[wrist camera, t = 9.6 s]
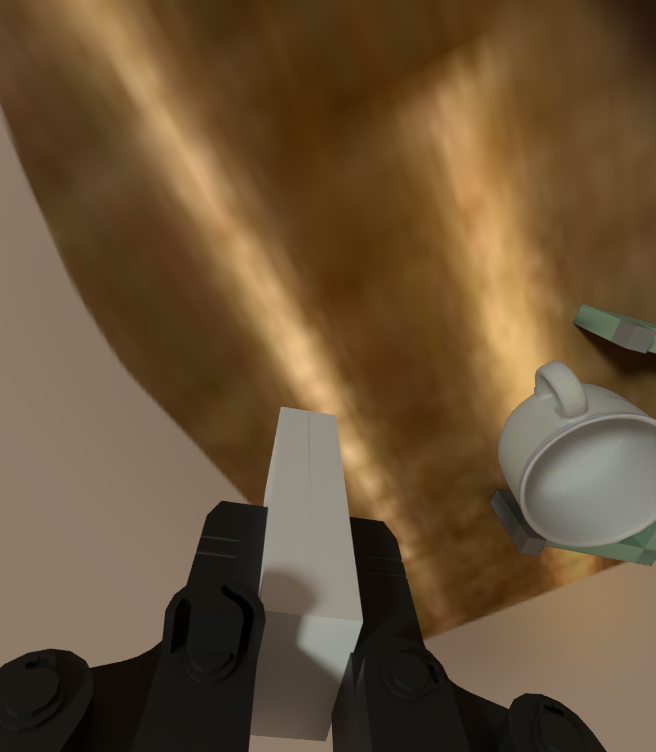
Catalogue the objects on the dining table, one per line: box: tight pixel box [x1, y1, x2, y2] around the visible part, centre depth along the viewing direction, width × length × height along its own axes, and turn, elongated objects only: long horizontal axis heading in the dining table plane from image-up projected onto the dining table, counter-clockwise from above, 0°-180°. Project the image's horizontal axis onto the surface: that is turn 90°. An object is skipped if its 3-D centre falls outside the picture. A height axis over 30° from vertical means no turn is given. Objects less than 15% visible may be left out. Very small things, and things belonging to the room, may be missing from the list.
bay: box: [490, 304, 656, 566], centre depth 36 cm, size 18×12×6 cm
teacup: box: [498, 361, 656, 547], centre depth 34 cm, size 14×11×8 cm
